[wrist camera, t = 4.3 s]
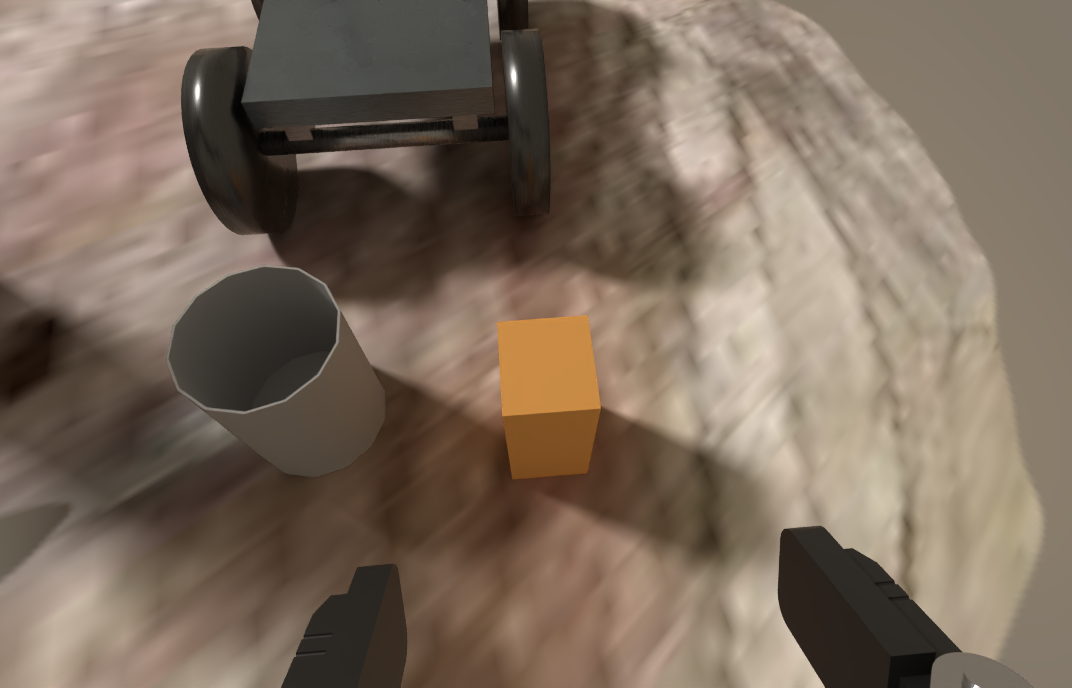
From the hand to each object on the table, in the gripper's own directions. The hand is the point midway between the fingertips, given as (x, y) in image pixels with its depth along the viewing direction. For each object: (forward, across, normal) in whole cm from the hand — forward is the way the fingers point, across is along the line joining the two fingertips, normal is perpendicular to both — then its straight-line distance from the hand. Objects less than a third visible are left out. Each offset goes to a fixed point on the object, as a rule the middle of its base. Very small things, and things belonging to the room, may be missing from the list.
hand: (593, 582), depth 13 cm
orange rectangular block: (+24, 0, -8) cm, 25 cm away
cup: (+26, -14, -6) cm, 30 cm away
